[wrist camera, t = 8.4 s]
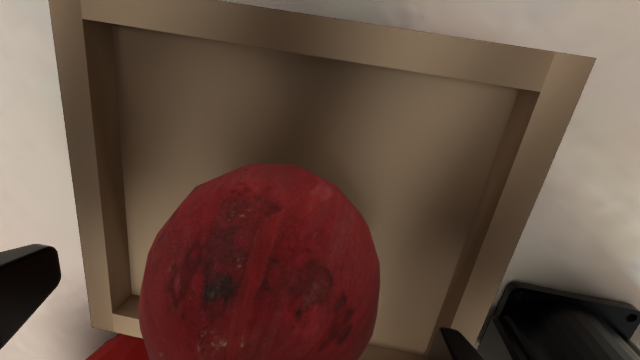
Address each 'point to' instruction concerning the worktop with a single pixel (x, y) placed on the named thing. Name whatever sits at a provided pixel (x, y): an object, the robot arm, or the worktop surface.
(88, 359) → the plastic cup
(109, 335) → the worktop surface
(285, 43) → the shelf
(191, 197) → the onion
